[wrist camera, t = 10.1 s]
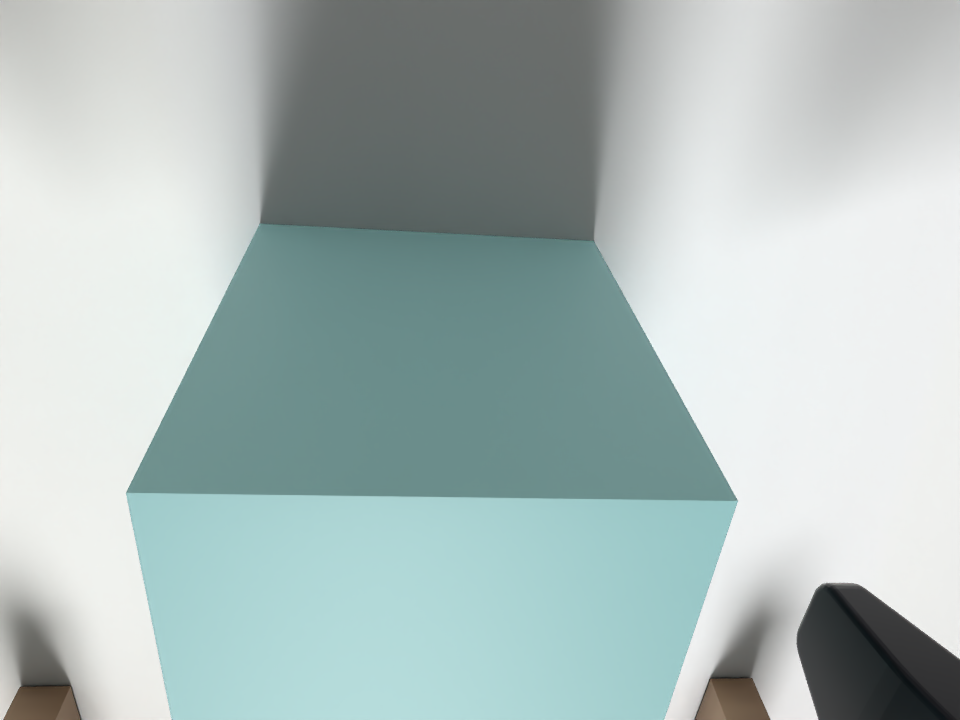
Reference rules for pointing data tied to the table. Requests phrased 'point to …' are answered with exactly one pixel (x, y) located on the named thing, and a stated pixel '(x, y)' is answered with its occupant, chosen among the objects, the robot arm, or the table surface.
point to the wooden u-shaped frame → (722, 716)
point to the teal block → (425, 490)
